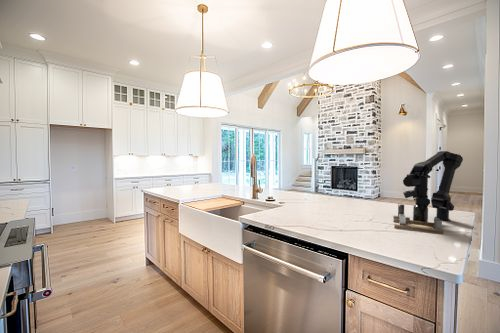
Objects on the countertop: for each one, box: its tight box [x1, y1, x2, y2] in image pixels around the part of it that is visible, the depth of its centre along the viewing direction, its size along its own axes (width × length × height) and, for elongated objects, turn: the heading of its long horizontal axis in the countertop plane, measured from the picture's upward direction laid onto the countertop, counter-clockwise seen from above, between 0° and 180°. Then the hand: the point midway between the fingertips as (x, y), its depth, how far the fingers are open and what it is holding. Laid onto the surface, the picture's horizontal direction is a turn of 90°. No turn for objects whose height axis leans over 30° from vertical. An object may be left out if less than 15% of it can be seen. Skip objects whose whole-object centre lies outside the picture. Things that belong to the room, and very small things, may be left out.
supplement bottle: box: [412, 203, 429, 222], centre depth 134 cm, size 7×7×12 cm
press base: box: [392, 215, 444, 235], centre depth 128 cm, size 22×20×5 cm
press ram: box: [397, 204, 407, 226], centre depth 133 cm, size 18×3×8 cm, turn 150°
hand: (420, 213), depth 134 cm, fingers closed on supplement bottle, 7 cm apart
